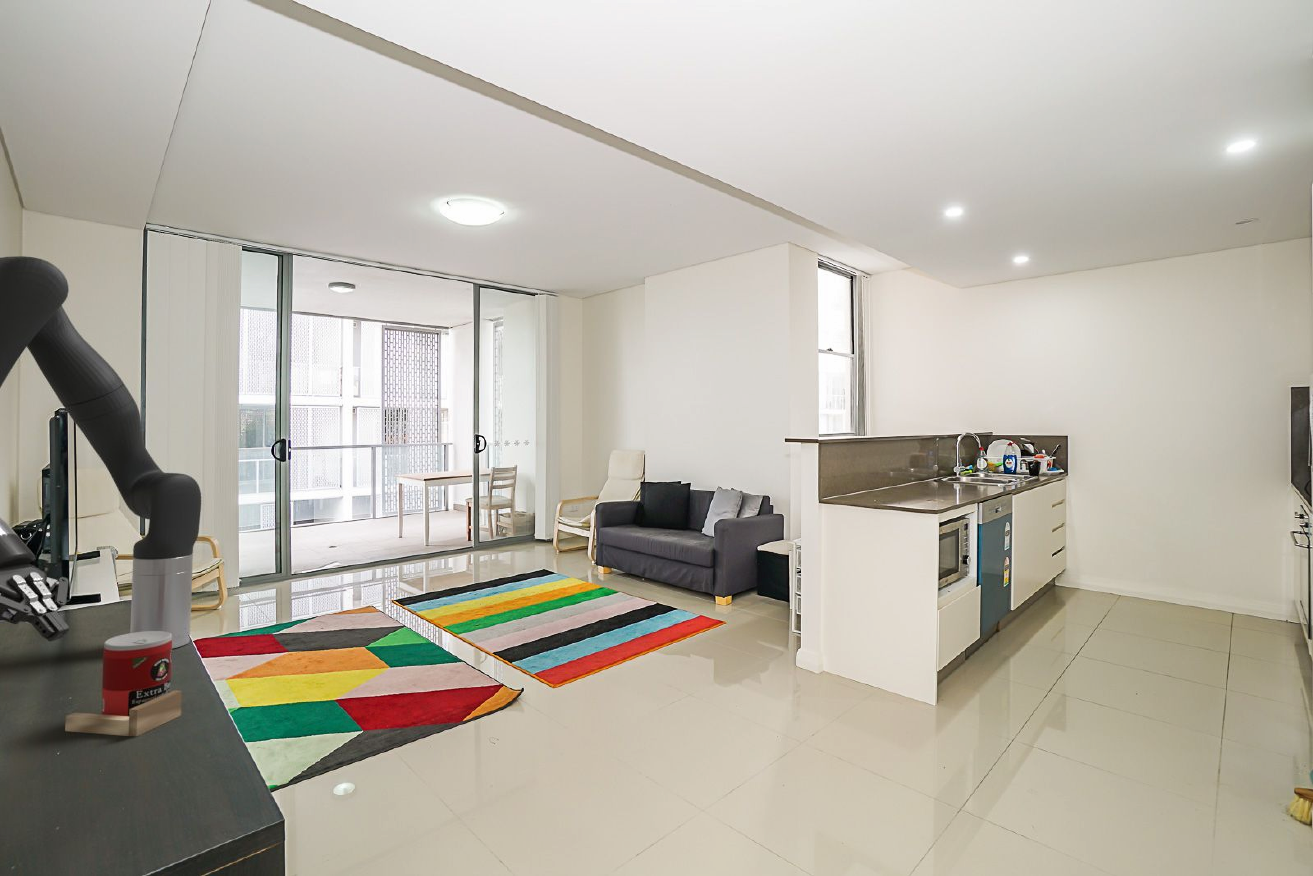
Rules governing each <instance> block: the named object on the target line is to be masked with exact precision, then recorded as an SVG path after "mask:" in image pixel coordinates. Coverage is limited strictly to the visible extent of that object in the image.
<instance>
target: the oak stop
mask: <svg viewBox="0 0 1313 876" xmlns="http://www.w3.org/2000/svg"><path fill="white" fill-rule="evenodd" d="M182 695H183V690H178V689H177V690H176V689H175V690H171V691H170V692H169V693H167V694H165V695H162V696H160V697H158V698H155V699H153V700H150V701H148V702H146V703H143V704H141V705H139V706H136V707H134V708H132V709H129V717H128V716H115V715H101V713H100V714H99V713H88V712H87V713H84V712H72V713H71V714H70V713H69V714H67V715H66V716H65V725H64V729H65V730H64V731H65V732H71V733H72V732H73V733H74V732H75V733H86V734H99V735H101V734H102V735H112V736H124V737H125V736H126V737H135V738H136V737H139V736H141V735H143V734H145V733H147V732H149V731H151V730H154V729H155V728H158V727H160V726H162V725H163V724H166V723H168V722H170V721H172V720H175V719H176V718H178V717H181V716H182V700H183V698H182V697H183V696H182Z"/></svg>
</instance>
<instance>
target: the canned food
mask: <svg viewBox="0 0 1313 876" xmlns="http://www.w3.org/2000/svg"><path fill="white" fill-rule="evenodd" d="M103 644H104V645H103V653H102V654H103V655H102V682H101V687H102V688H101V713H100V714H101V715H115V716H128V717H129V709H132V708H134V707H136V706H139V705H141V704H143V703H146V702H148V701H150V700H153V699H155V698H158V697H160V696H162V695H165V694H167V693H169V692H171V682H172V681H171V679H172V652H173V648H172V634H171V633H169V632H164V631H145V632H135V633H126V634H121V635H115V636H113V637H111V638H108V639H106V641H104V643H103Z"/></svg>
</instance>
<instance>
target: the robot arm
mask: <svg viewBox="0 0 1313 876" xmlns="http://www.w3.org/2000/svg"><path fill="white" fill-rule="evenodd" d="M68 294H69V283H68V280H67V278H66V276H65V274H64V273H63V272H62V271H61V269H59V268H58V267H57V266H56V265H54V264H52V263H51V262H49V261H48V260H45V259H42V258H38V257H34V256H26V255H25V256H24V255H23V256H18V255H17V256H5V257H3V256H2V257H0V389H1V387H2V386H3V384H4V383H5V381H6V379H7V377H8V376H9V374H10V373H11V370H12V369H13V368H14V366H15V364H16V363H17V361H18V360H19V358H20V357H21V355H22V354H23V352H24V351H25V350H26V349H27V350H29V352H30V354H31V356H32V358H33V359H34V361H35V362H36V365H37V366H38V368H39V371H40V372H41V374H42V375H43V376H44V378H45V379H46V381H47V382H48V384H49V385H50V387H51V389H52V391H53V392H54V394H55V395H56V397H57V398H58V401H59V402H60V403H61V404H62V406H63V407H64V408H65V409H64V410H65V411H66V412H67V413H68V414H69V416H70V418H71V419H72V421H73V422H74V423H75V425H76V426H77V427H78V428H79V430H80V431H81V433H82V434H83V435H84V437H85V439H86V440H87V441H88V442H89V444H90V446H91V447H92V448H93V450H94V452H95V453H96V454H97V456H98V457H99V458H100V459H101V461H102V462H103V464H104V465H105V467H106V469H107V471H108V472H109V475H110V476H111V478H112V480H113V483H115V486H116V487H117V490H118V492H119V494H120V495H121V498H122V500H123V502H124V504H125V505H126V506H127V508H128V509H129V510H130V511H131V512H132V513H133V514H134V515H136V516H138V517H139V518H142V519H144V520H149V523H148V530H147V534H146V535H145V536H144V537H143V538H141V539H140V540H138V541H136V542H135V543H134V545H133V549H132V571H131V572H132V574H131V575H132V582H131V605H130V606H131V607H130V608H131V611H130V630H129V631H130V633H135V632H145V631H164V632H169V633H171V634H172V649H175V648H179V647H182V646H185V645H187V644H189V643H190V642H191V640H190V639H191V620H192V619H191V618H192V592H193V591H192V588H193V587H192V586H193V564H194V563H193V561H194V560H193V558H194V557H193V556H194V554H193V553H194V547H195V544H196V542H197V540H198V537H199V532H200V523H201V521H200V520H201V511H202V494H201V493H202V492H201V489H200V486H199V484H198V482H197V481H196V479H194V478H193V477H192V476H191V475H188V474H184V473H179V472H177V473H176V472H164V471H163V470H162V469H161V468H160V467H159V465H158V464H157V463H156V461H154V458H153V457H152V456H151V455H150V453H149V451H148V450H147V448H146V445H145V443H144V440H143V436H142V435H143V434H142V422H141V413H140V410H139V407H138V405H137V402H136V401H135V399H134V397H133V396H132V394H131V392H130V390H129V389H128V388H127V386H126V385H125V383H124V381H123V380H122V378H121V377H120V375H119V374H118V373H117V372H116V371H115V369H114V368H113V367H112V366H111V365H110V363H108V362H107V361H106V360H105V359H104V357H102V355H100V353H99V352H98V351H96V350H95V349H94V348H93V347H92V346H91V345H90V343H88V342H87V340H85V339H84V338H83V337H82V335H81V334H80V333H79V332H78V330H77V329H76V327H75V326H74V324H73V323H72V321H71V319H70V318H69V316H68V314H67V313H66V310H65V309H64V307H63V304H64V303H65V302H66V301H67V298H68V297H69V296H68ZM68 588H69V579H68V578H67V577H64V576H61V577H60V578H58V579H55V578H52V577H48V575H47V574H46V572H45V571H43V570H41V569H39V567H37V566H36V556H35V554H34V553H33V552H32V550H31V549H30V548H29V547H28V546H27V545H26V544H25V542H24V541H23V540H22V539H21V538H20V536H19V535H18V534H17V533H16V532H15V531H14V529H13V528H12V527H11V526H10V525H9V524H8V523H7V522H6V521H5V520H4V519H3V518H1V517H0V620H1V621H5V622H8V623H10V624H12V625H17V624H18V625H19V623H21V622H22V623H26V624H28V625H32V626H33V628H34V629H35V630H36V631H37V633H39V634H40V636H41V637H42V638H44V639H45V640H47V641H48V642H54V641H57V640H61V639H62V638H63V637H65V635H66V634H68V633H69V627H70V626H69V625H68V624H67V622H66V621H65V620H64V619H63V618H62V617H61V615H60V614H59V613H58V611H59V610H60V609H61V608H62V607H64V606H65V605H66V604H67V597H68ZM6 610H8V611H6ZM185 628H186V629H185ZM187 632H188V633H187ZM188 634H189V636H190V638H189V636H188Z"/></svg>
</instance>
